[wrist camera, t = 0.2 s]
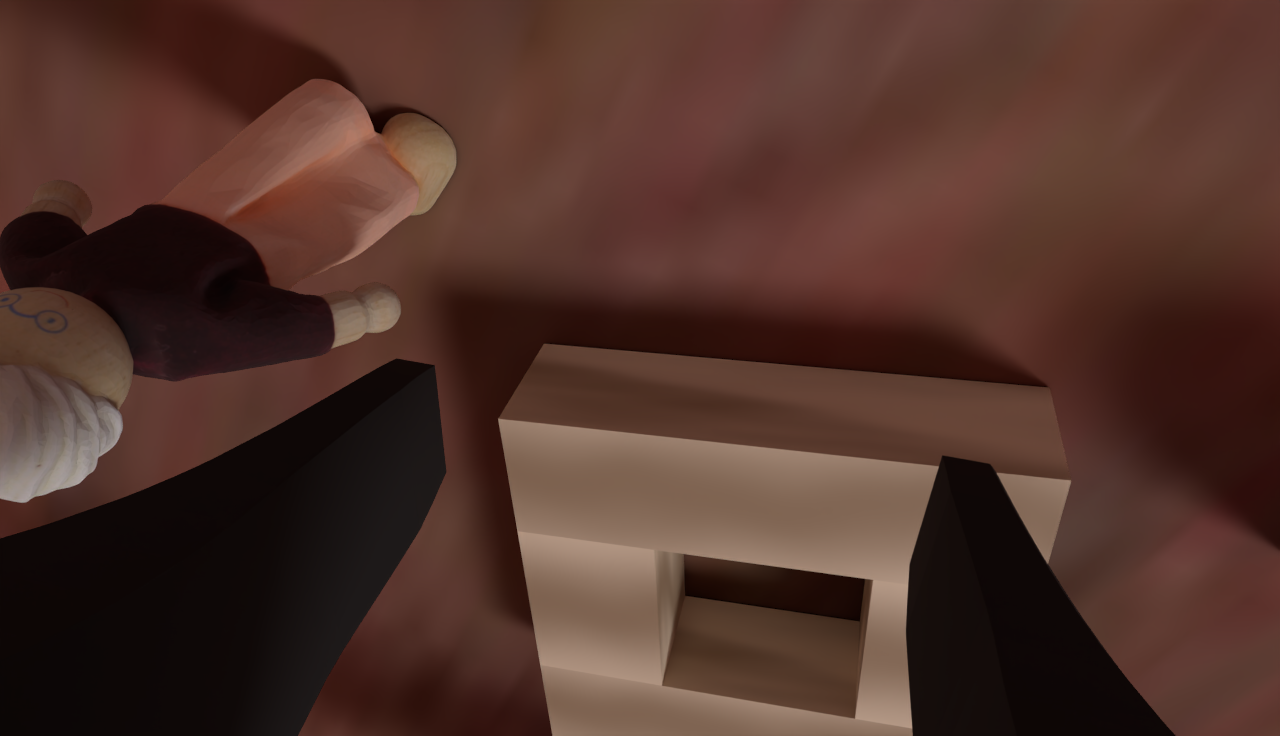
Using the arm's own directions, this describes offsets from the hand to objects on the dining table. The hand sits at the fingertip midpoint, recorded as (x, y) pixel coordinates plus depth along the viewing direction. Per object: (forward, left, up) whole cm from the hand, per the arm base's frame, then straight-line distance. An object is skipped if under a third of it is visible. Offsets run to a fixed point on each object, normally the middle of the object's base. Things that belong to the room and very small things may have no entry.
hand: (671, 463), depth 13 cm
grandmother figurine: (+1, +10, -10) cm, 15 cm away
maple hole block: (-11, -1, -10) cm, 15 cm away
